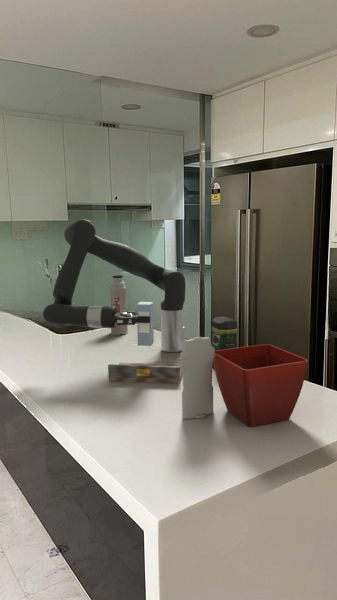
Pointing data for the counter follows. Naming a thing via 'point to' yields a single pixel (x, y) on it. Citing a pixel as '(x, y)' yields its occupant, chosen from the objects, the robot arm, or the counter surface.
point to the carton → (145, 324)
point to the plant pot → (259, 382)
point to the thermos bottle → (118, 301)
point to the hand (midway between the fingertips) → (151, 317)
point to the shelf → (145, 373)
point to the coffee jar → (224, 333)
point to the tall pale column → (197, 378)
